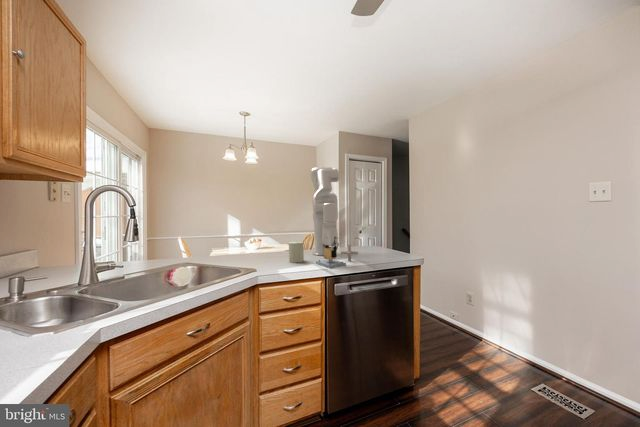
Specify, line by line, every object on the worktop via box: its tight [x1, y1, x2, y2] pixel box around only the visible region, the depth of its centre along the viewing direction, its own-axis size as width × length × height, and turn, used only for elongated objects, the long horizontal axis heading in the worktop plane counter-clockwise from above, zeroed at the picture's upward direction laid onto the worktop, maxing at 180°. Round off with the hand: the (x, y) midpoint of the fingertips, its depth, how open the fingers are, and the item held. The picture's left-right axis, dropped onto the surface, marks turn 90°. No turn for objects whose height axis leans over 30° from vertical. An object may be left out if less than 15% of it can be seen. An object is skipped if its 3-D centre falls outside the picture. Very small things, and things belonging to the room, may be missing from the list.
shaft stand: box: [315, 259, 347, 269], centre depth 153 cm, size 14×11×8 cm
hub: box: [323, 246, 337, 260], centre depth 153 cm, size 6×6×6 cm
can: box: [288, 240, 305, 263], centre depth 166 cm, size 9×9×12 cm
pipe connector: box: [340, 244, 359, 262], centre depth 163 cm, size 10×10×10 cm
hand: (330, 256), depth 153 cm, fingers closed on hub, 6 cm apart
